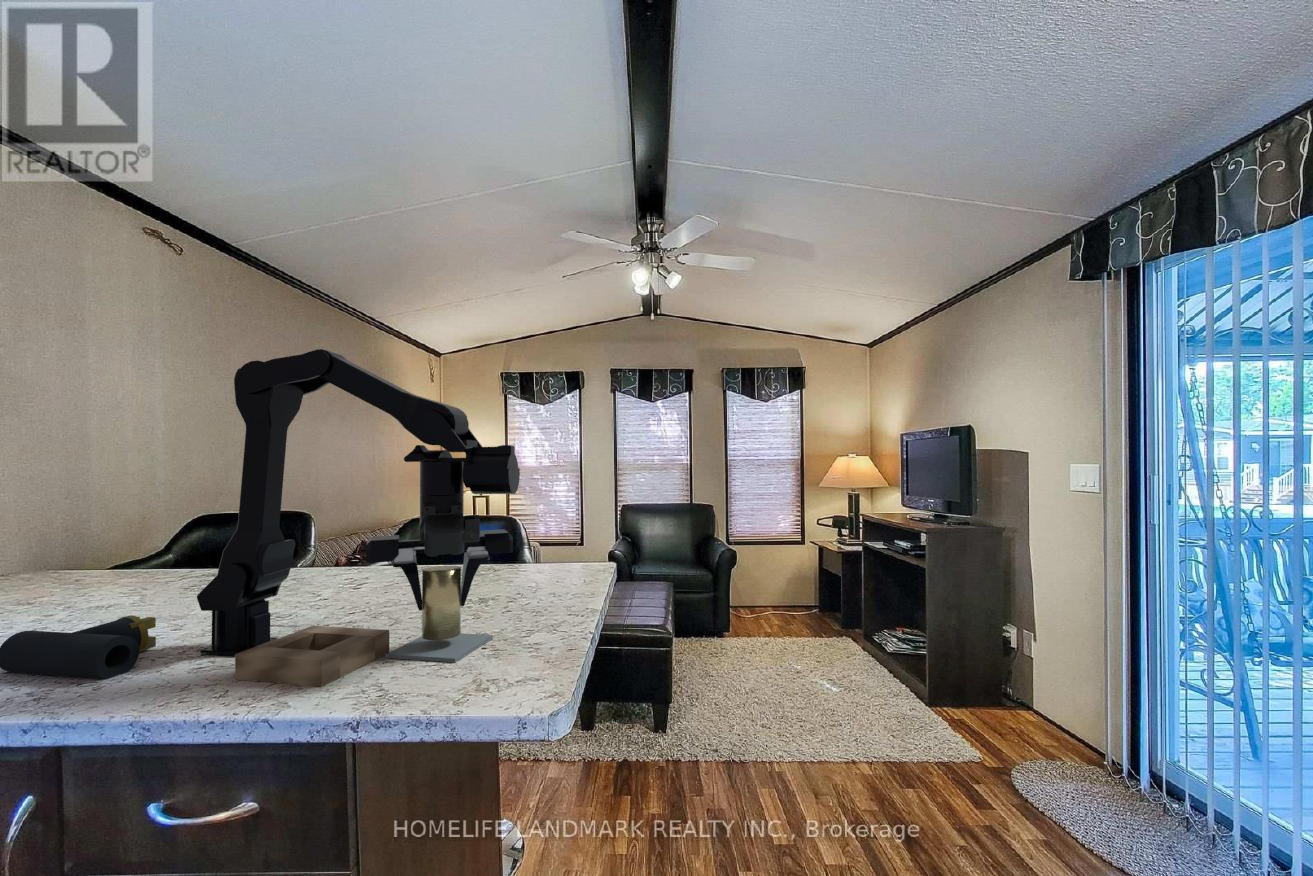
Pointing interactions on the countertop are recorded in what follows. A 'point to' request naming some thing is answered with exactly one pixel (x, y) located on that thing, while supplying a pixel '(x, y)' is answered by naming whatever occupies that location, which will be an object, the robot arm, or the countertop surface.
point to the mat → (440, 648)
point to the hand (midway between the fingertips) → (441, 607)
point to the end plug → (441, 602)
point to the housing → (312, 655)
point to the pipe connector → (80, 649)
